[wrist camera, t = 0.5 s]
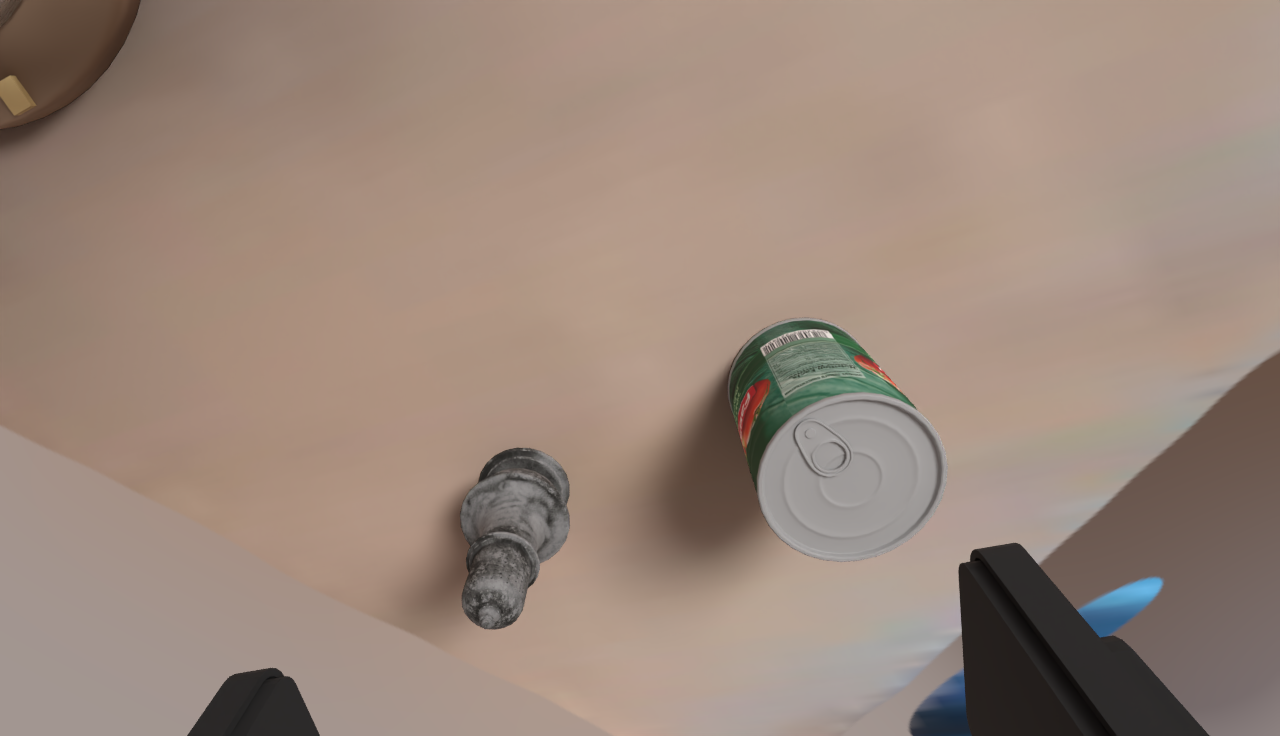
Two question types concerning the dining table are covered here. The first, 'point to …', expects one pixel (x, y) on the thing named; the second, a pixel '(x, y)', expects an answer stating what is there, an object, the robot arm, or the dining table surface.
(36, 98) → the base
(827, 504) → the canned tomato
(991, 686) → the robot arm
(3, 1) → the crank handle
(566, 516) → the gray candlestick
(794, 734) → the dining table surface
